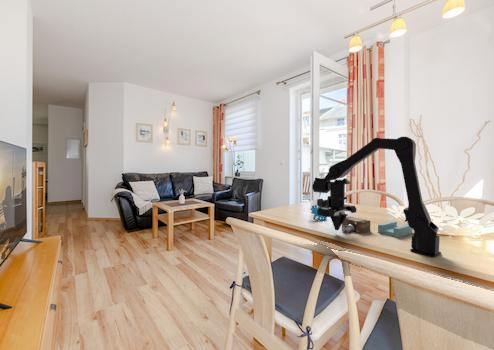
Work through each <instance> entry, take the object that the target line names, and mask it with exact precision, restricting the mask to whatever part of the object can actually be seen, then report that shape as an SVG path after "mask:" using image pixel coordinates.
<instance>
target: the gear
mask: <svg viewBox="0 0 494 350" xmlns="http://www.w3.org/2000/svg"><path fill="white" fill-rule="evenodd" d="M318 208H320V206H318V205H317V204H313V205H312V206H311V207H310V210H311V211H310V212H311V214H313V219H316V218H317V220H318V221H319V220H320V221H322V222H323V221H326V220H327V218H328V217H325V216H321V215H317V209H318Z"/></svg>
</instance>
